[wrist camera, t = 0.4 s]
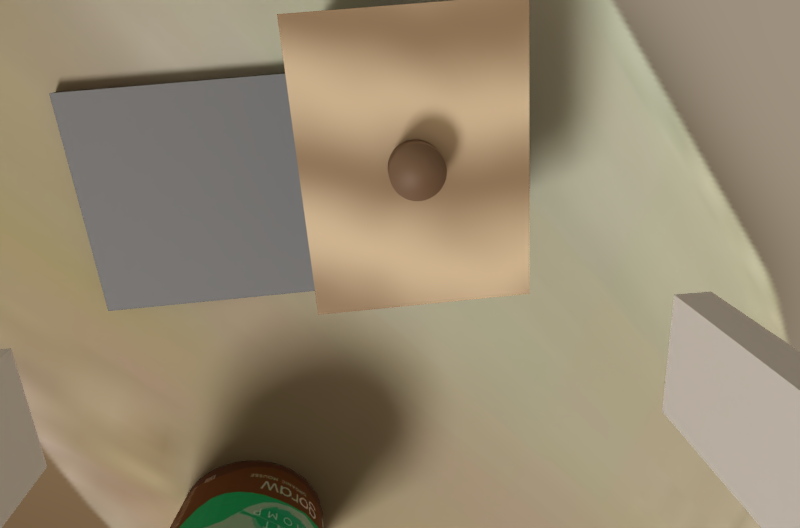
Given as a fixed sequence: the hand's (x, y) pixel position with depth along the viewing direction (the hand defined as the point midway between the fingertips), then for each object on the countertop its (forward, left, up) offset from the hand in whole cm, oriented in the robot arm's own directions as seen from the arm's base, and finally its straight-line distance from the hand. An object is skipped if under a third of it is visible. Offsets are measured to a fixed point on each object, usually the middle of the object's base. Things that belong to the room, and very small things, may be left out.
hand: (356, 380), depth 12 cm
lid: (-1, +3, -16) cm, 17 cm away
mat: (+1, -9, -22) cm, 24 cm away
